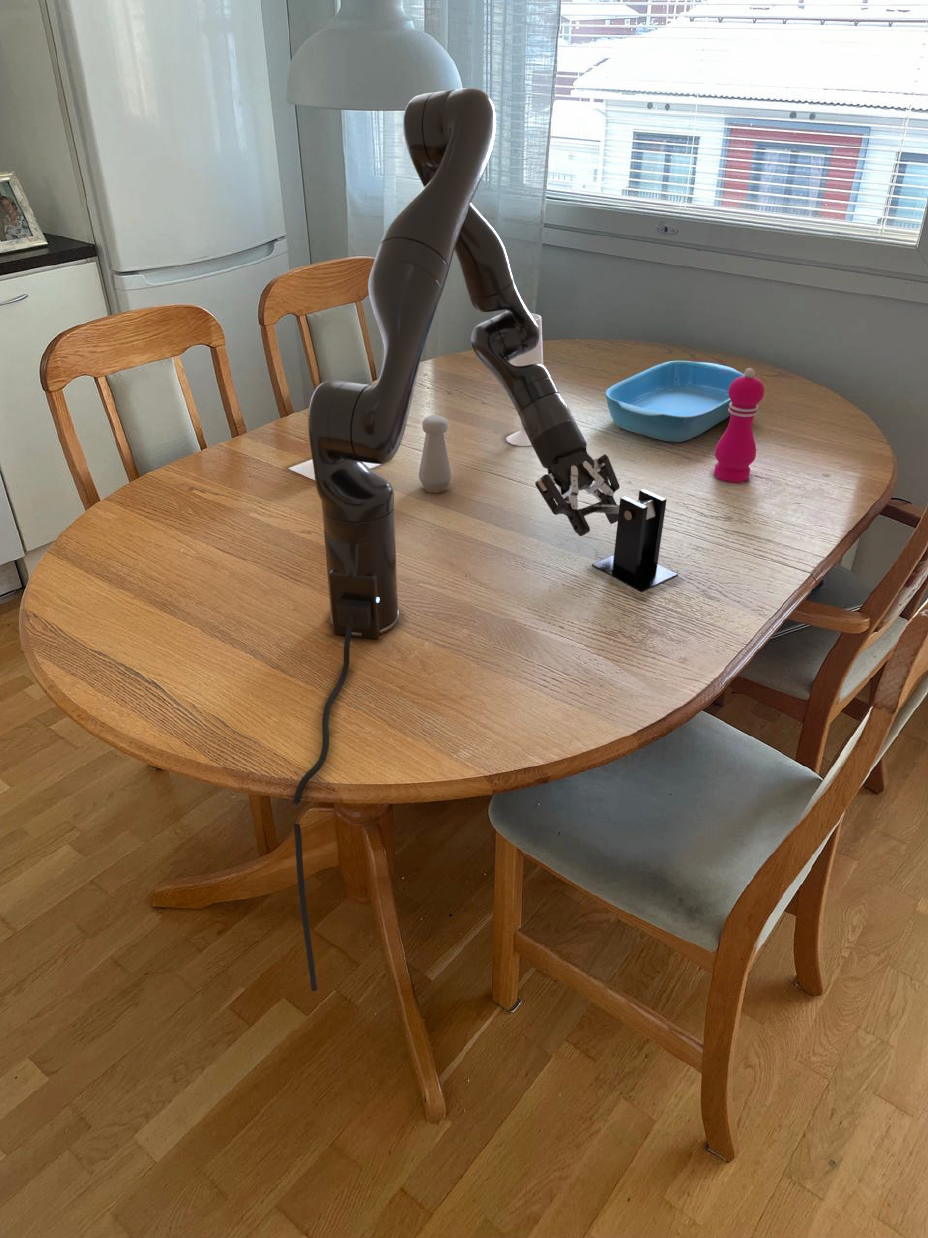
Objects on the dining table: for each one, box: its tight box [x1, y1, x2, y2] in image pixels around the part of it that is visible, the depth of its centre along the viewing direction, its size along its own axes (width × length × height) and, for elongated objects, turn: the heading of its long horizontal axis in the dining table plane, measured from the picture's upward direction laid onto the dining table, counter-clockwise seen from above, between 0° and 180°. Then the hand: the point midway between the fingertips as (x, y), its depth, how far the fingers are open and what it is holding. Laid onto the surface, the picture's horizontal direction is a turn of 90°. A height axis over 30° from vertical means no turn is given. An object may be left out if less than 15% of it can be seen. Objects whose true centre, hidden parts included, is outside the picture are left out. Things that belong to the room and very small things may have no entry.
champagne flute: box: [506, 313, 544, 447], centre depth 177 cm, size 7×7×24 cm
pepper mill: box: [713, 367, 765, 483], centre depth 164 cm, size 7×7×20 cm
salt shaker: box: [418, 415, 453, 494], centre depth 160 cm, size 6×6×13 cm
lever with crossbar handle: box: [579, 499, 655, 520], centre depth 136 cm, size 12×6×2 cm, turn 39°
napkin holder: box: [287, 459, 382, 481], centre depth 170 cm, size 15×11×6 cm
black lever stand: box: [591, 488, 679, 593], centre depth 135 cm, size 10×8×13 cm
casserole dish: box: [604, 360, 745, 443], centre depth 192 cm, size 37×22×7 cm, turn 140°
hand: (601, 527), depth 140 cm, fingers open, 6 cm apart
